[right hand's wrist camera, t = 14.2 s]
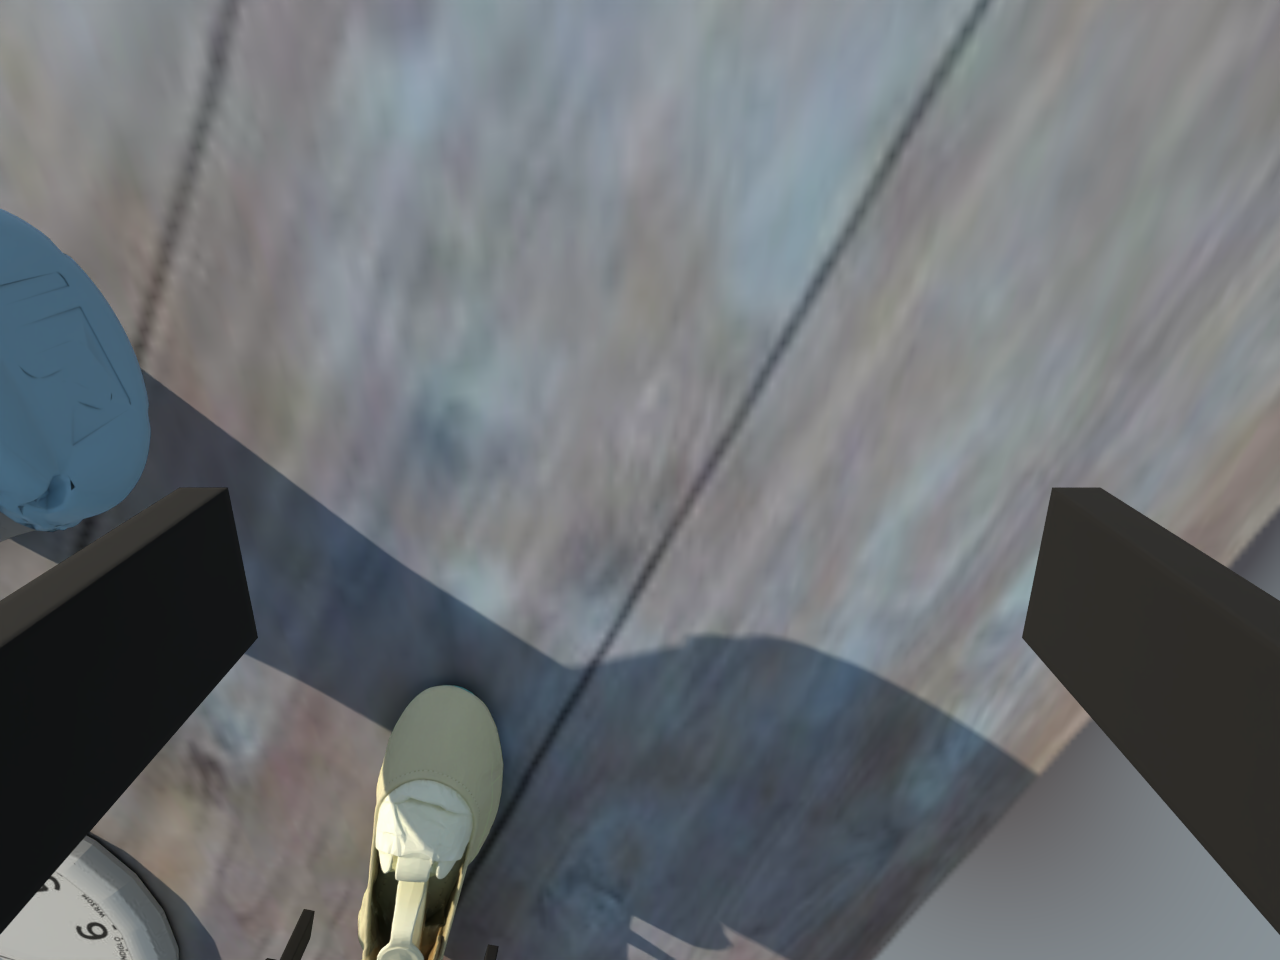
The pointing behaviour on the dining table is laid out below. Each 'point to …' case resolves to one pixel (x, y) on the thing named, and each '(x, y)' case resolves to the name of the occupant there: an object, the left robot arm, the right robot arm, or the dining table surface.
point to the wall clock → (90, 914)
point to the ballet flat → (429, 822)
